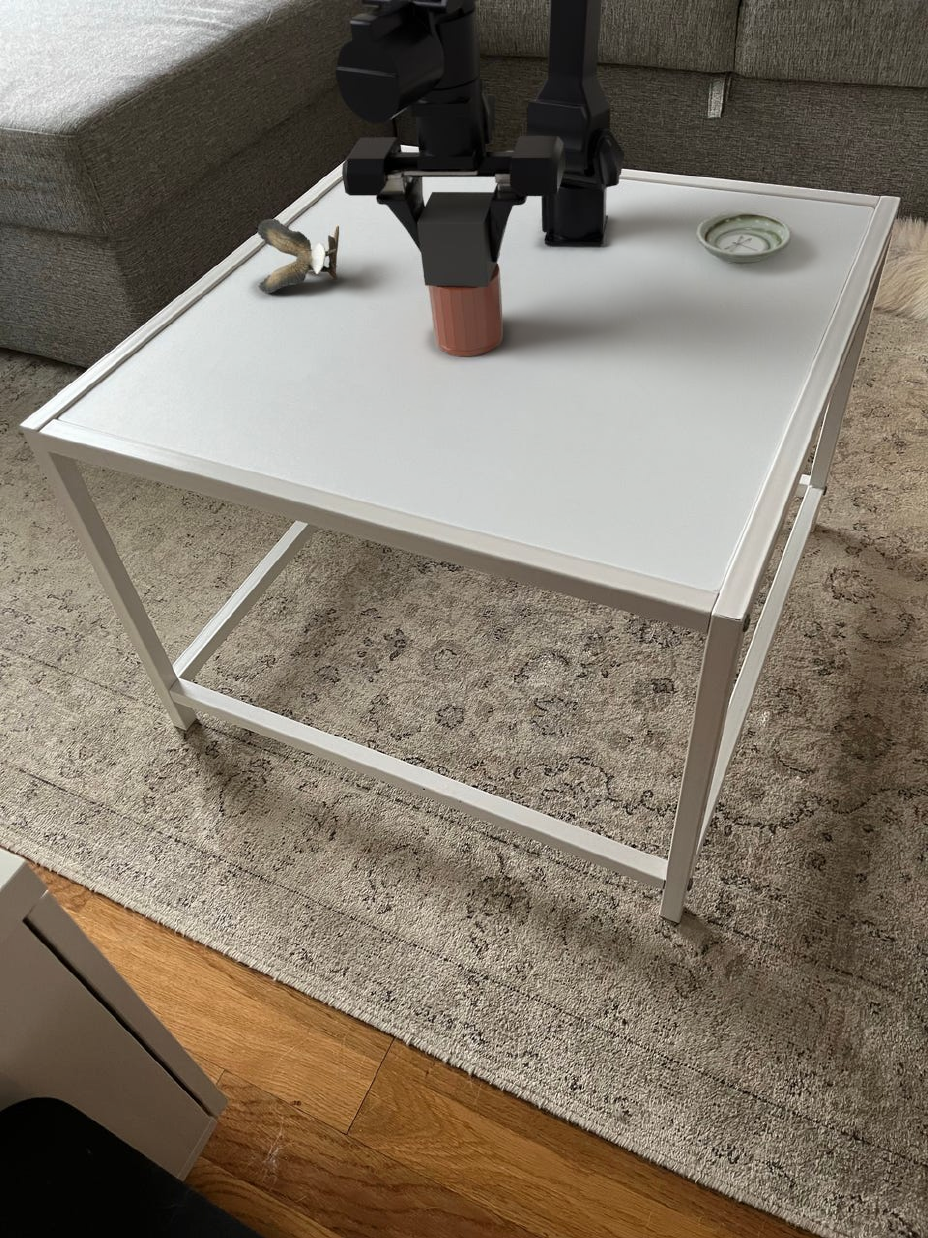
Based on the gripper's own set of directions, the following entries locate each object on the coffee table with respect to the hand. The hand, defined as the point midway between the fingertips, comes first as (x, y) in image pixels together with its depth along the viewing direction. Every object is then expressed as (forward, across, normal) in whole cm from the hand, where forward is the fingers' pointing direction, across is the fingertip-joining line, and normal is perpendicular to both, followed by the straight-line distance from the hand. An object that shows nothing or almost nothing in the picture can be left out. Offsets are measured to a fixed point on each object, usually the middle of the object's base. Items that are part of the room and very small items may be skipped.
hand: (462, 259), depth 87 cm
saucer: (+8, -26, -18) cm, 33 cm away
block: (+1, 0, 0) cm, 1 cm away
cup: (+8, 0, 0) cm, 8 cm away
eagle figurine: (+8, +21, -10) cm, 25 cm away
